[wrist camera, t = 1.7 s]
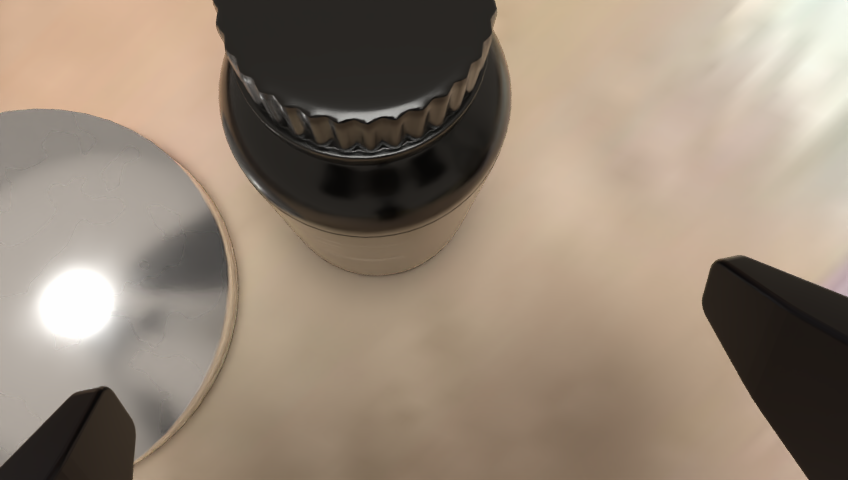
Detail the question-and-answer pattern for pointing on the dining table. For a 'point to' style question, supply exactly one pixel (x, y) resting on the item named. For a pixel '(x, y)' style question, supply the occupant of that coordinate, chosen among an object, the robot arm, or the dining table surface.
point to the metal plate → (106, 276)
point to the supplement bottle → (365, 119)
